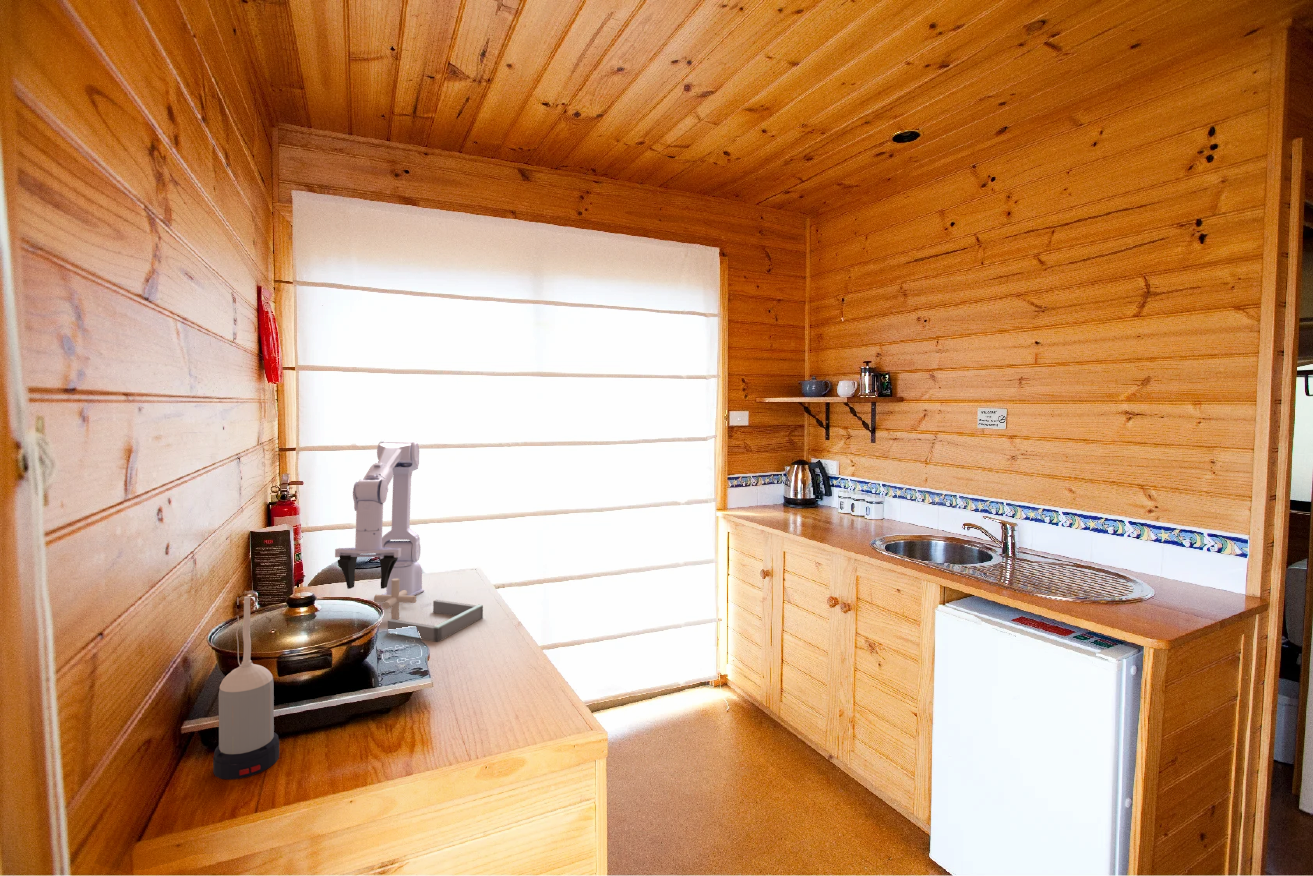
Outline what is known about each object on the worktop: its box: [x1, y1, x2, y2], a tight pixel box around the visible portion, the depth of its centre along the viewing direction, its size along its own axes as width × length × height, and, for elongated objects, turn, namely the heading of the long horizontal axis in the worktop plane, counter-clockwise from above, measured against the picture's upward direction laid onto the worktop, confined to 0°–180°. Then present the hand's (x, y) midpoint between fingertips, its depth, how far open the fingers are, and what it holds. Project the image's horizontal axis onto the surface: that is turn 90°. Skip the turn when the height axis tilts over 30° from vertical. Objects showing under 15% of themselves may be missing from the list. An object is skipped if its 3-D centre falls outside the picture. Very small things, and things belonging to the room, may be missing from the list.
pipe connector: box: [373, 578, 417, 620], centre depth 153 cm, size 10×10×10 cm
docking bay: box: [387, 599, 484, 643], centre depth 149 cm, size 14×17×3 cm
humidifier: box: [212, 596, 280, 781], centre depth 90 cm, size 8×8×25 cm
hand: (367, 587), depth 143 cm, fingers open, 7 cm apart
